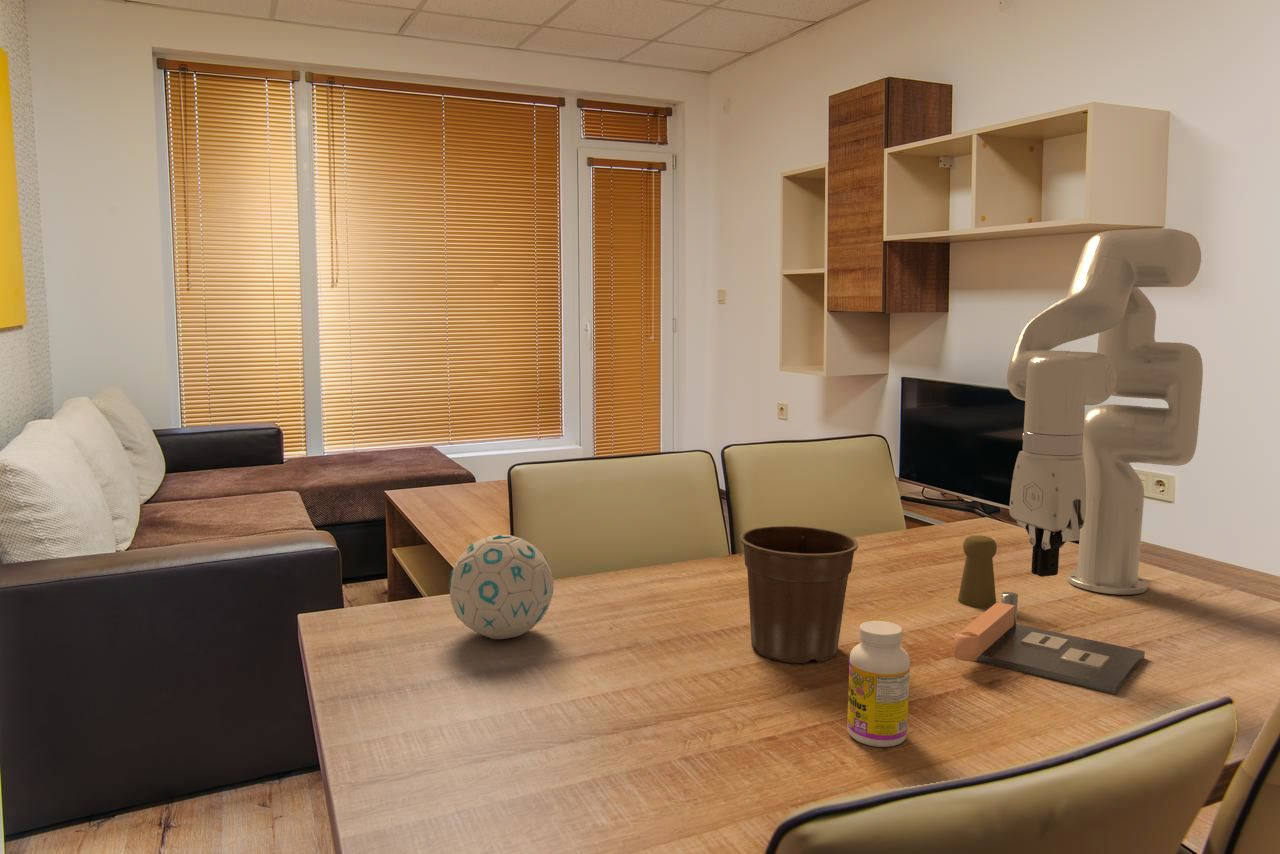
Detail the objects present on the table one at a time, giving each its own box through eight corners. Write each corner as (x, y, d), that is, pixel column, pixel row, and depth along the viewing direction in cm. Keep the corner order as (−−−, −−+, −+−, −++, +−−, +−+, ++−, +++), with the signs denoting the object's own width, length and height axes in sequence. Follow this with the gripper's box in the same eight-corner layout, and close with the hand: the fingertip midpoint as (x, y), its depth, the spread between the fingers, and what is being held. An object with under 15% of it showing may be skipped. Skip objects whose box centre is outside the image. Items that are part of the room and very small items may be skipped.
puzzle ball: (430, 635, 140) (427, 536, 138) (509, 611, 150) (508, 519, 149) (494, 662, 129) (492, 555, 127) (575, 634, 140) (574, 535, 138)
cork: (999, 608, 153) (1003, 542, 151) (960, 606, 154) (963, 540, 153) (993, 597, 159) (996, 533, 157) (955, 595, 160) (958, 531, 158)
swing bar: (994, 621, 141) (995, 601, 140) (1015, 625, 139) (1016, 605, 139) (950, 657, 126) (951, 636, 126) (973, 663, 124) (974, 641, 124)
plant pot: (860, 636, 140) (864, 530, 138) (846, 677, 125) (851, 558, 123) (751, 624, 145) (753, 521, 143) (726, 661, 130) (728, 547, 128)
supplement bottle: (839, 724, 111) (843, 617, 109) (894, 722, 111) (899, 616, 110) (857, 750, 104) (861, 638, 103) (915, 748, 105) (920, 636, 103)
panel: (998, 626, 144) (1000, 588, 144) (1144, 658, 132) (1147, 616, 131) (959, 656, 132) (961, 615, 131) (1115, 694, 119) (1118, 648, 119)
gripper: (993, 438, 136) (986, 563, 139) (1071, 454, 122) (1062, 592, 125) (1035, 436, 139) (1028, 558, 141) (1117, 451, 125) (1107, 587, 127)
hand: (1044, 574), depth 133 cm, fingers closed
